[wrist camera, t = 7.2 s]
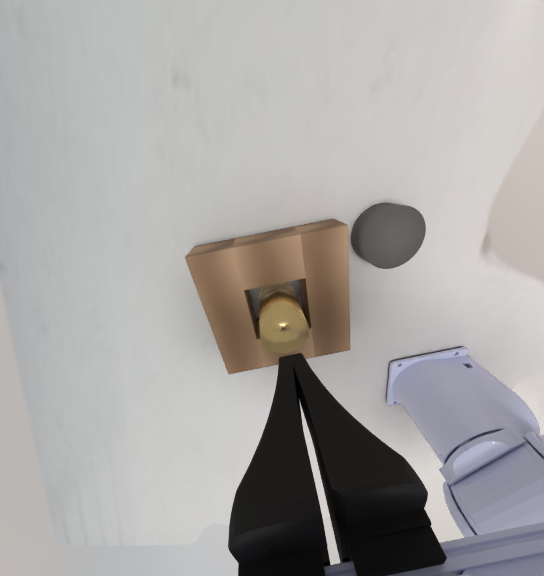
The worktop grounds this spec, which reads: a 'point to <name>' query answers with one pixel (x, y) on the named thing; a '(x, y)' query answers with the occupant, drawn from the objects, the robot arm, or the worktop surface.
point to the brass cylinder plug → (281, 318)
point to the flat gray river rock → (388, 234)
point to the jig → (267, 271)
